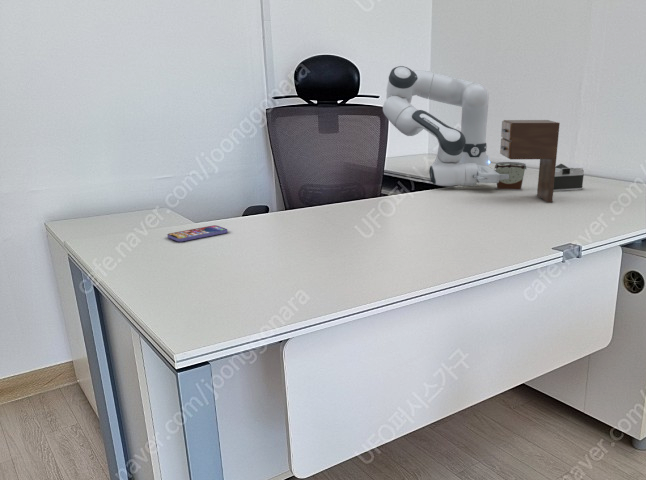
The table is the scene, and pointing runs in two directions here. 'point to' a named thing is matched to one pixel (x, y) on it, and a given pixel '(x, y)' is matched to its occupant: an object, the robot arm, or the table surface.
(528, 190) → the table surface
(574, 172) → the camera
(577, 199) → the table surface
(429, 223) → the table surface
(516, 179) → the food container
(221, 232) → the smartphone
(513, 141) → the drawer unit
